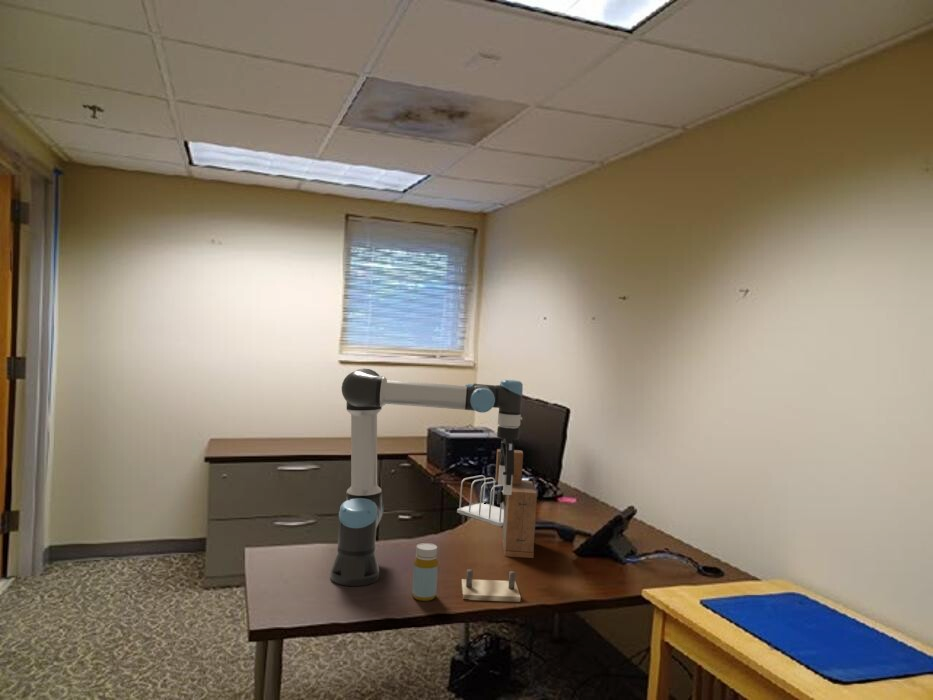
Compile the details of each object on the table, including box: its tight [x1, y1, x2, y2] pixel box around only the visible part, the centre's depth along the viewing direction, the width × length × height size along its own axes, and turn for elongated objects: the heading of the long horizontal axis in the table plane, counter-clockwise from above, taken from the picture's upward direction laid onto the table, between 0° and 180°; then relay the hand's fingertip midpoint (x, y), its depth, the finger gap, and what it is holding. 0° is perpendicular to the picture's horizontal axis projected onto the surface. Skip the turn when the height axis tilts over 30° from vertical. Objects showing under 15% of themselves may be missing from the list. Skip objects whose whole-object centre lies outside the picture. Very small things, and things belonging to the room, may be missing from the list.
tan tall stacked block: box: [494, 448, 538, 559], centre depth 236 cm, size 19×14×35 cm
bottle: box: [411, 542, 439, 602], centre depth 187 cm, size 7×7×15 cm
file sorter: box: [456, 474, 504, 528], centre depth 277 cm, size 25×17×16 cm
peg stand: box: [460, 568, 522, 603], centre depth 193 cm, size 17×12×6 cm
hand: (504, 489), depth 213 cm, fingers open, 13 cm apart
